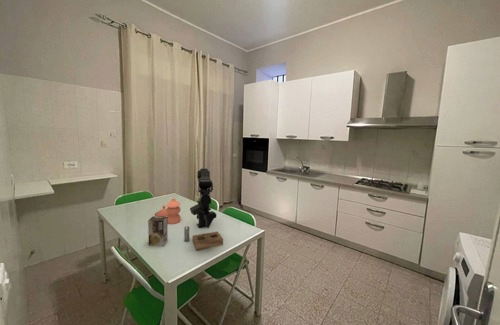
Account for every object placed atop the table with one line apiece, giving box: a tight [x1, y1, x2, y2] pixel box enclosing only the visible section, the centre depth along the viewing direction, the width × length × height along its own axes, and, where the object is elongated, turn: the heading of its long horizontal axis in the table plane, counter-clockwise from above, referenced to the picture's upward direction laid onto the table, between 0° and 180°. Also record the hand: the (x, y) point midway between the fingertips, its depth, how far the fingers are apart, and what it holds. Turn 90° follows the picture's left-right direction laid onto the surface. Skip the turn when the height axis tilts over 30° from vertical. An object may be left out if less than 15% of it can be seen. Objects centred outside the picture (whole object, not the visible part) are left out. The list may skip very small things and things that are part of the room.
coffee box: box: [147, 215, 169, 247], centre depth 120 cm, size 9×6×16 cm
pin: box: [183, 226, 190, 243], centre depth 125 cm, size 3×3×9 cm
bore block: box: [191, 231, 224, 251], centre depth 124 cm, size 11×16×4 cm
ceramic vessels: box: [154, 198, 181, 225], centre depth 159 cm, size 35×21×19 cm, turn 43°
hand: (204, 225), depth 121 cm, fingers open, 9 cm apart
